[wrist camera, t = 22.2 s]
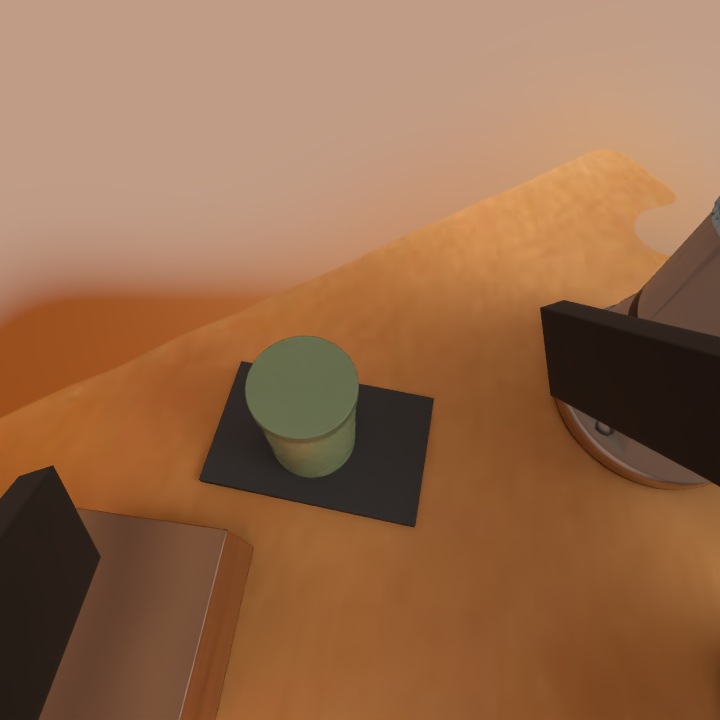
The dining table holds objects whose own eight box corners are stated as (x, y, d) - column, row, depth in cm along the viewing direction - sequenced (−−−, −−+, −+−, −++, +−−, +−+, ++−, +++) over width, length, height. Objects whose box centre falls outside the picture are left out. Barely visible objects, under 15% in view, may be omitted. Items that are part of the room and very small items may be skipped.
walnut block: (253, 547, 34) (227, 529, 27) (214, 722, 29) (170, 757, 22) (115, 526, 34) (53, 504, 27) (55, 695, 30) (-38, 722, 23)
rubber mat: (433, 400, 39) (433, 397, 39) (414, 527, 35) (415, 526, 34) (242, 363, 40) (241, 360, 40) (200, 481, 36) (198, 479, 35)
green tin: (365, 404, 38) (368, 346, 30) (347, 488, 35) (345, 449, 27) (283, 388, 39) (263, 326, 30) (258, 469, 36) (229, 426, 27)
